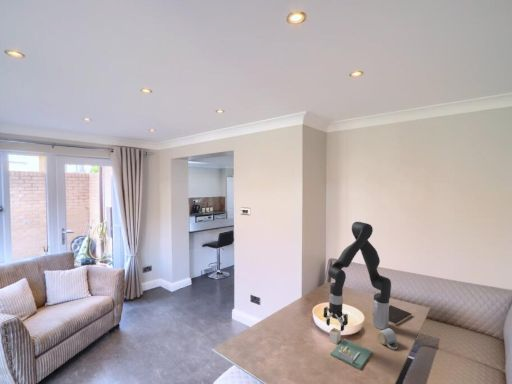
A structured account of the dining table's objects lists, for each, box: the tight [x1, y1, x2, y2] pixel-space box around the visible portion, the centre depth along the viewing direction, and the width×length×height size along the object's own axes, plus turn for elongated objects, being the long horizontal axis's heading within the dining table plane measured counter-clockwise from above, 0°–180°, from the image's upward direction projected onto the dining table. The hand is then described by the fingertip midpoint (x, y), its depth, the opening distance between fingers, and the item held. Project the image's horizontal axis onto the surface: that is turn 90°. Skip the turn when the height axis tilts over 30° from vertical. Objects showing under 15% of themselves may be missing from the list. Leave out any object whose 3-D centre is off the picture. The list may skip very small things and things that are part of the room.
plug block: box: [329, 327, 342, 345], centre depth 153 cm, size 5×4×6 cm
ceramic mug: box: [376, 327, 399, 350], centre depth 150 cm, size 11×8×8 cm
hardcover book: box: [388, 304, 413, 326], centre depth 183 cm, size 16×23×2 cm
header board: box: [330, 338, 373, 370], centre depth 141 cm, size 18×16×6 cm
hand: (335, 327), depth 153 cm, fingers open, 8 cm apart
